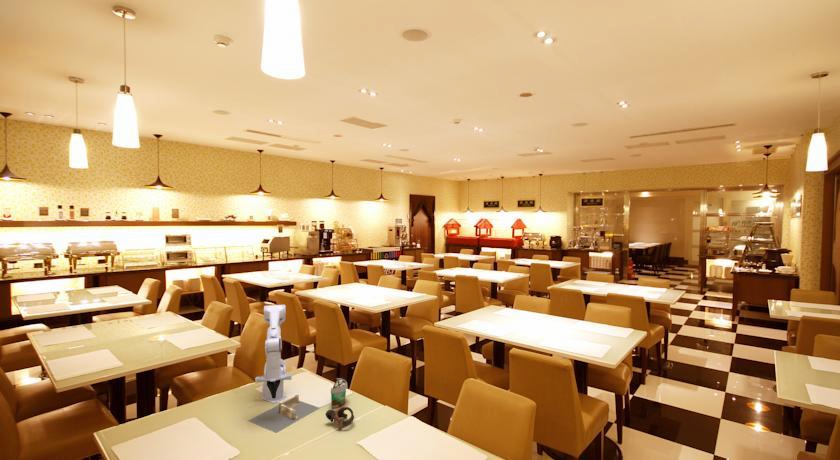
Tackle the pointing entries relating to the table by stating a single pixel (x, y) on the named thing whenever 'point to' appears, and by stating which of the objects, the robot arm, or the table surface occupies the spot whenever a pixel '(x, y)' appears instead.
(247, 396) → the table surface
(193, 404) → the table surface
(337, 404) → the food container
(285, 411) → the bar
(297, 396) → the fixed fence section
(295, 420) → the mat
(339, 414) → the pottery mug
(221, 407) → the table surface
